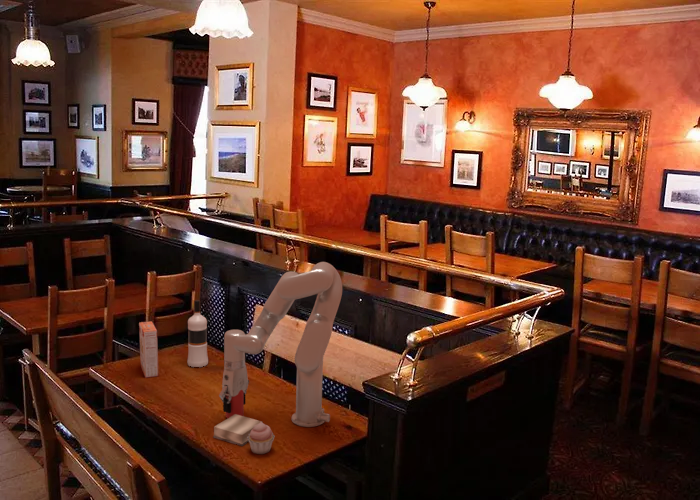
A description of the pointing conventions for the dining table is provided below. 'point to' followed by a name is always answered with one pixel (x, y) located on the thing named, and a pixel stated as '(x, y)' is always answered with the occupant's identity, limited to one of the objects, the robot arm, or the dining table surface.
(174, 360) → the dining table surface
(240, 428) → the stand
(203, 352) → the vodka
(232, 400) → the beer can
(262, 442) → the cupcake
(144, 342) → the cracker box
